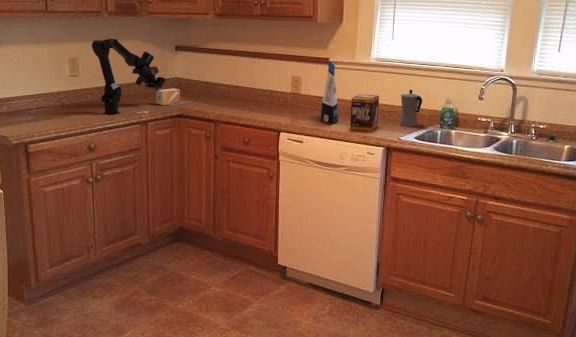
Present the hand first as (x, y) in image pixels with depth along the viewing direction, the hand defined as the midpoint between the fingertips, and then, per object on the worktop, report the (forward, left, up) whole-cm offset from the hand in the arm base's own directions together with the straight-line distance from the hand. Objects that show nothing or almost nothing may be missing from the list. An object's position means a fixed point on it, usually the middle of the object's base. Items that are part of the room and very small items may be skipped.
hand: (158, 90), depth 350 cm
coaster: (-25, -11, -9) cm, 29 cm away
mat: (+9, 0, -9) cm, 13 cm away
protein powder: (+18, -104, -9) cm, 106 cm away
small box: (0, -1, -4) cm, 4 cm away
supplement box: (+11, -127, -9) cm, 128 cm away
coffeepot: (+31, -144, -9) cm, 147 cm away
